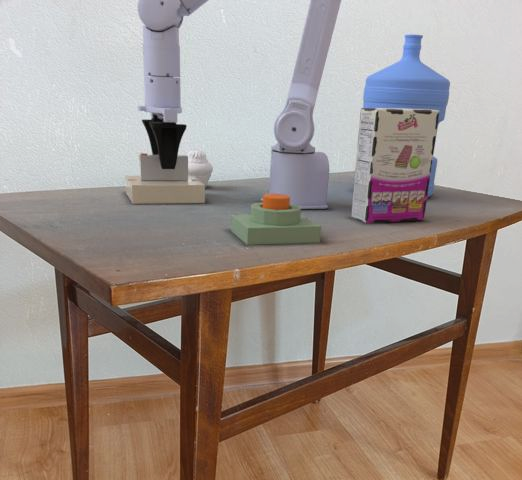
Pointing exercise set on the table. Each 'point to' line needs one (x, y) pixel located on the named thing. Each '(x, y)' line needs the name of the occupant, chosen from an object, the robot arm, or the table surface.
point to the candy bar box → (393, 164)
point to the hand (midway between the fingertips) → (164, 165)
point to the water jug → (409, 88)
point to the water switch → (275, 226)
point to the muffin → (199, 166)
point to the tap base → (164, 191)
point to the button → (276, 201)
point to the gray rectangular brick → (153, 170)
